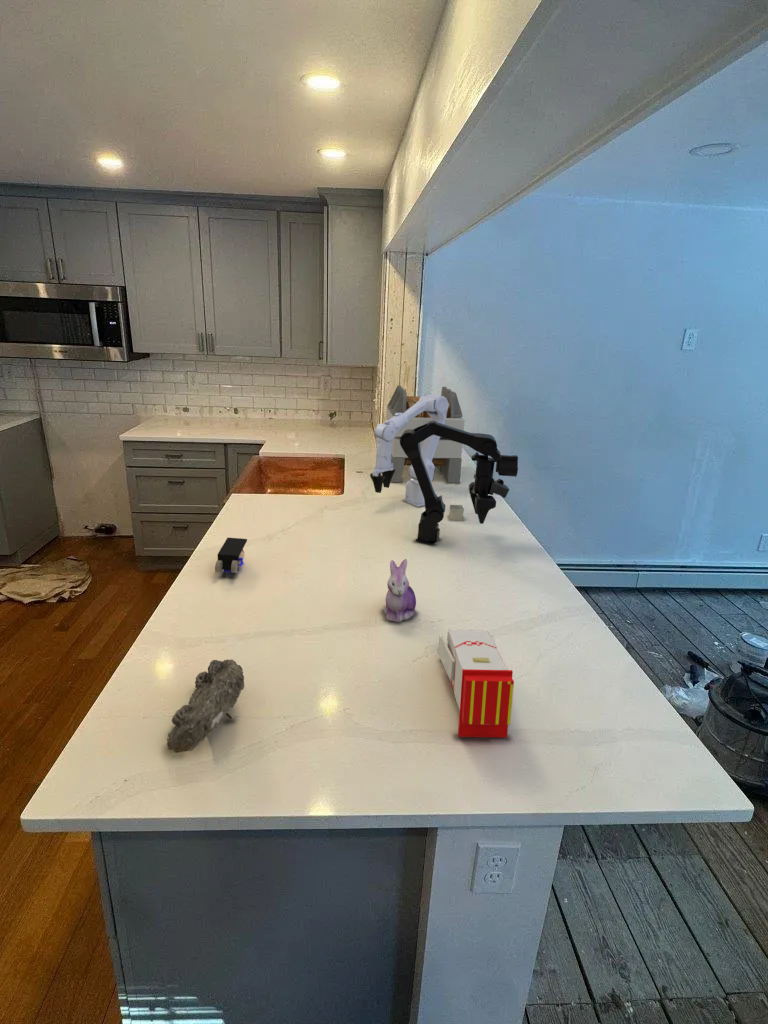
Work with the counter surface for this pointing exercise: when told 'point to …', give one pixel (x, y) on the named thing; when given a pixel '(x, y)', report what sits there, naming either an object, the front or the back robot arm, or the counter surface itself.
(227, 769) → the counter surface
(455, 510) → the block
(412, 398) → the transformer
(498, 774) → the counter surface
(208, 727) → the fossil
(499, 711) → the toy
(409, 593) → the figurine
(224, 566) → the black wheeled box
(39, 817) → the counter surface
